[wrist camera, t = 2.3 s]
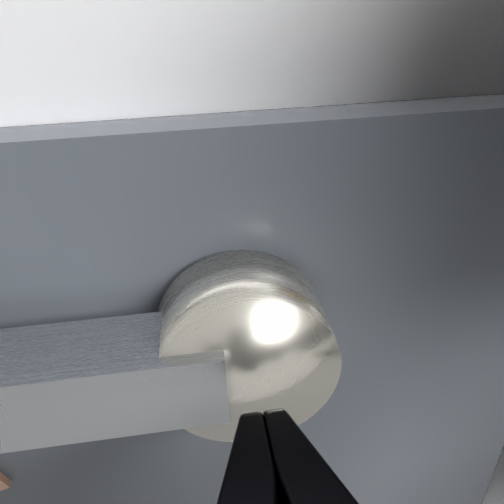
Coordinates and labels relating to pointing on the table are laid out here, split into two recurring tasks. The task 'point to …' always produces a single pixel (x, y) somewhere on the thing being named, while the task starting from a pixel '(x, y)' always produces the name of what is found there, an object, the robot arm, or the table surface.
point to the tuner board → (296, 252)
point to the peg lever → (174, 360)
